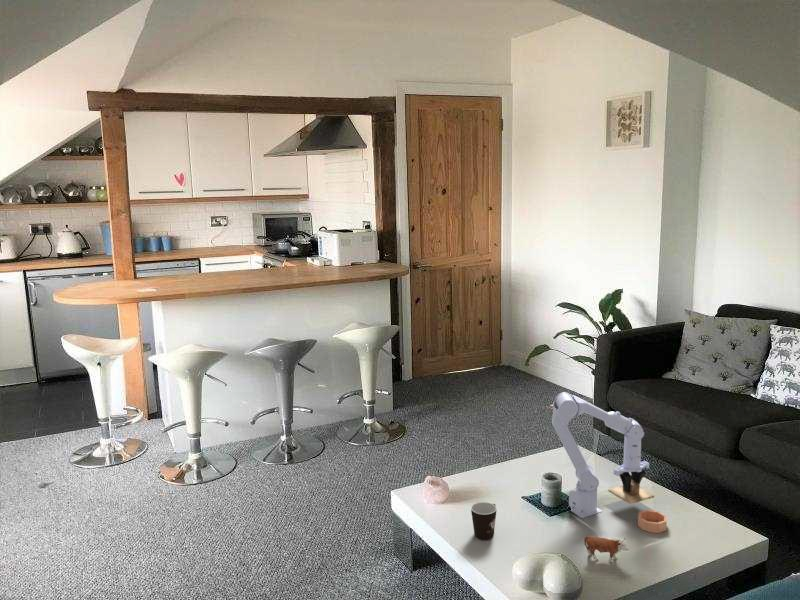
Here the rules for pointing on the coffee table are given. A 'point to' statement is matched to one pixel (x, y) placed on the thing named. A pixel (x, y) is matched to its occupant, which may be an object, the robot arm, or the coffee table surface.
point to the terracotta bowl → (652, 521)
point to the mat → (627, 509)
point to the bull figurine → (605, 546)
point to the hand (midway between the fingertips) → (630, 490)
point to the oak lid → (631, 493)
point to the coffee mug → (483, 520)
